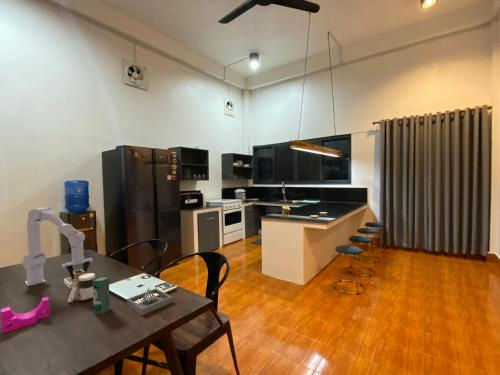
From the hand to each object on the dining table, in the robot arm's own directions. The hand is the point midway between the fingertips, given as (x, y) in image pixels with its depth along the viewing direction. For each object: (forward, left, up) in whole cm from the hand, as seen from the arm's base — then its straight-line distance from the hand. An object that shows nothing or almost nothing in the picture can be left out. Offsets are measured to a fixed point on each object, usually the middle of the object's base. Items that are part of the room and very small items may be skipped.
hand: (78, 276), depth 145 cm
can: (+45, -3, -4) cm, 45 cm away
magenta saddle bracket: (+30, -27, -4) cm, 40 cm away
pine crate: (0, 0, -3) cm, 3 cm away
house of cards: (+56, +13, -4) cm, 57 cm away
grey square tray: (+56, +14, -4) cm, 57 cm away
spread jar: (+25, -5, -4) cm, 26 cm away
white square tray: (0, 0, -4) cm, 4 cm away
